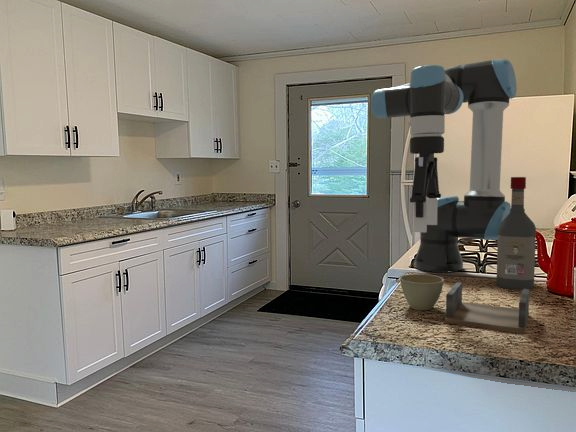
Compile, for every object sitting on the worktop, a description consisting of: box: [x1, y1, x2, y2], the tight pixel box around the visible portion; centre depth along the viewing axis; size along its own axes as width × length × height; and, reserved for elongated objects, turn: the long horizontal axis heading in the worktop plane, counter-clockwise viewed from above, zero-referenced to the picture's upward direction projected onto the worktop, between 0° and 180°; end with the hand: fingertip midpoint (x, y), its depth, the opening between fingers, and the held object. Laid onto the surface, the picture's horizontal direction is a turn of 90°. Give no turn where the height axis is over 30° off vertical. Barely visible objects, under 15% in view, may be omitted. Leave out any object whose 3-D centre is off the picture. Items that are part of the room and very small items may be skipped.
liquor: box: [496, 176, 537, 291], centre depth 130 cm, size 9×9×30 cm
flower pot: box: [399, 273, 445, 311], centre depth 114 cm, size 10×10×7 cm
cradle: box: [444, 282, 530, 335], centre depth 105 cm, size 14×15×6 cm
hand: (426, 228), depth 111 cm, fingers open, 13 cm apart
